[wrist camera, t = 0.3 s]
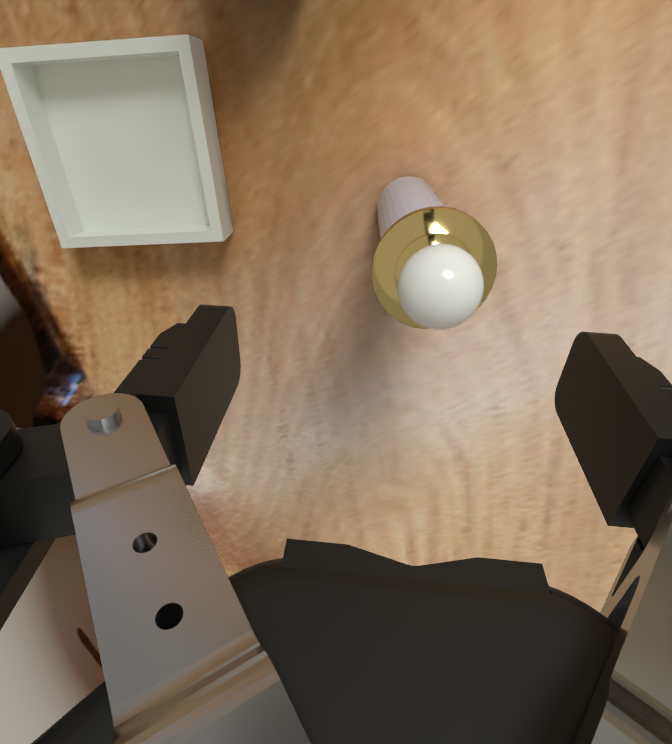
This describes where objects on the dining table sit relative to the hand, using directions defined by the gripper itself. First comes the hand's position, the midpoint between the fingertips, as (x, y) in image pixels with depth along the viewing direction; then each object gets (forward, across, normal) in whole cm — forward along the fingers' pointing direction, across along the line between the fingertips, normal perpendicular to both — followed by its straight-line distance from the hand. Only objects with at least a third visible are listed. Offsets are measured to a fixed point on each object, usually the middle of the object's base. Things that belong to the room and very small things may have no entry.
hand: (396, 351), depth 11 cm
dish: (+27, +19, +1) cm, 33 cm away
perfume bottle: (+28, -2, +4) cm, 28 cm away
